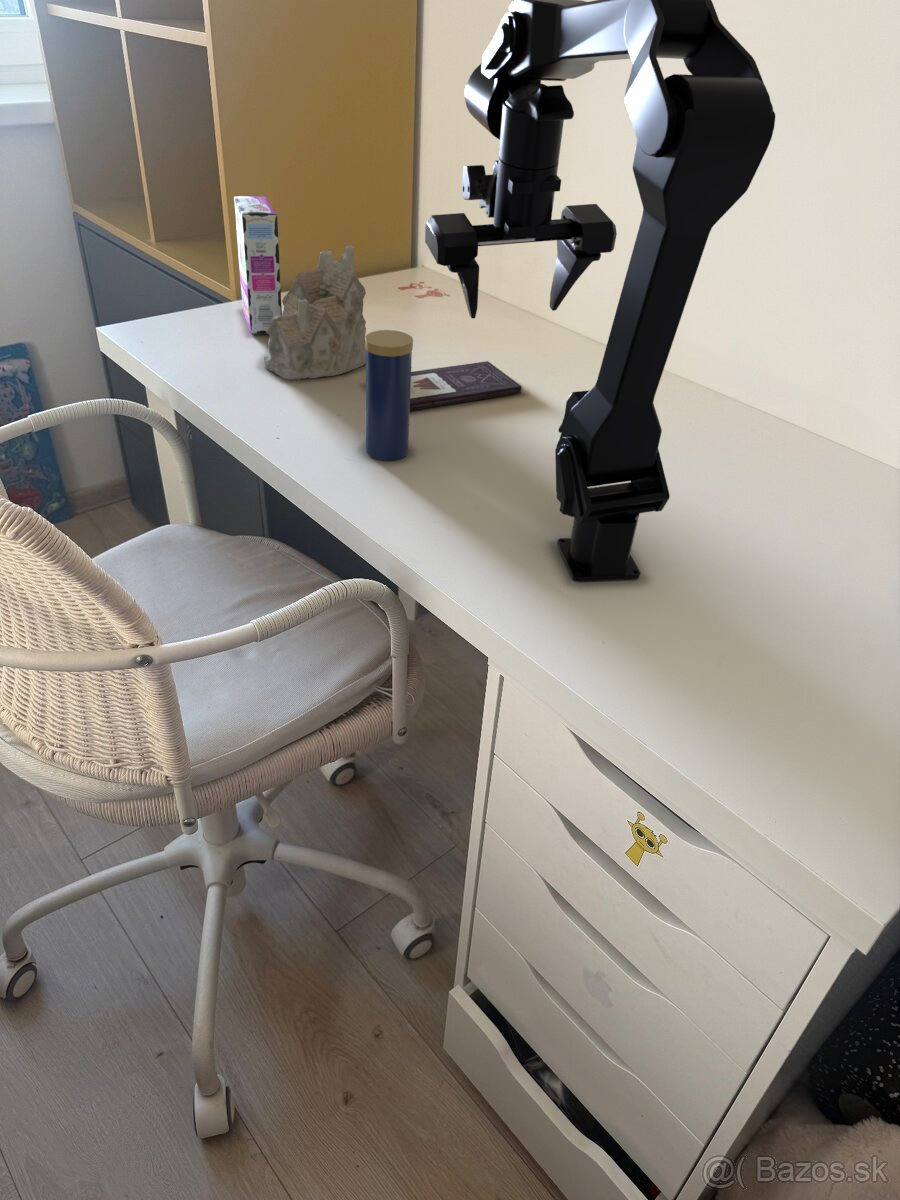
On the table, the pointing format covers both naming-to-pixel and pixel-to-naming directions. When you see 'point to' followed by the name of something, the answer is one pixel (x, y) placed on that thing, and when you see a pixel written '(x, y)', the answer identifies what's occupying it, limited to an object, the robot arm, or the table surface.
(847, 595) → the table surface
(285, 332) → the ceramic cottage
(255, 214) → the candy bar box
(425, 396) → the chocolate bar
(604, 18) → the robot arm
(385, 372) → the blue canister
